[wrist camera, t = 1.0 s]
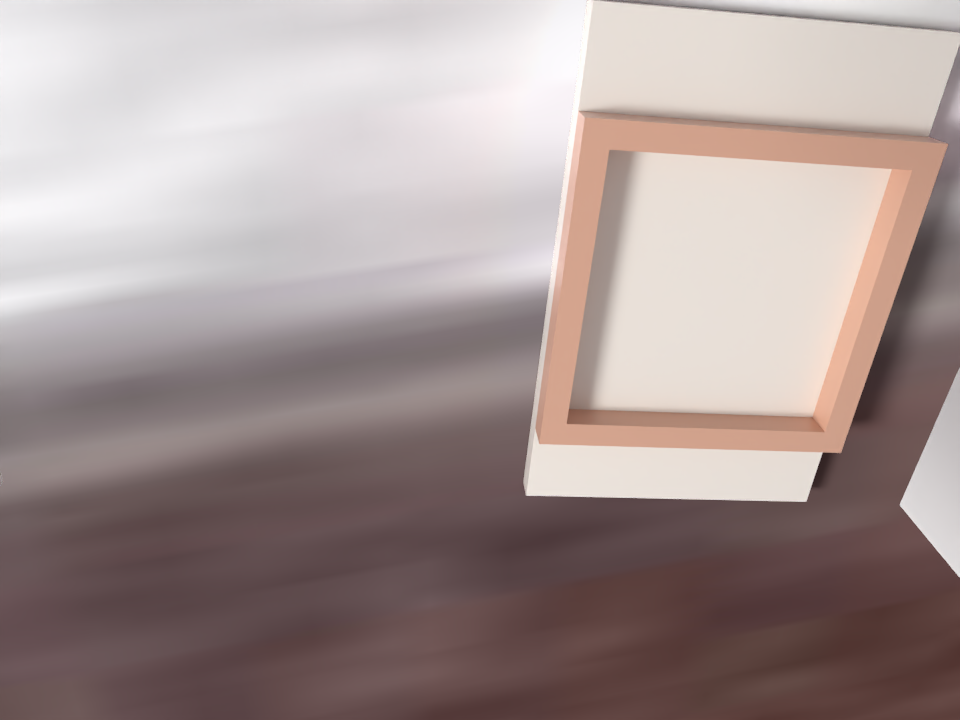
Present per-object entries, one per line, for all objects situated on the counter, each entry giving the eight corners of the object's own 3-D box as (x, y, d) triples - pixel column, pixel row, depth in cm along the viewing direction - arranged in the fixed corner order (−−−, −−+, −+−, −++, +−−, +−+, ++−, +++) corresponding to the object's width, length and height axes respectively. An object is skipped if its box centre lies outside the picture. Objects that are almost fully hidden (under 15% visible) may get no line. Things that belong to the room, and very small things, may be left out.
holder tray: (587, -2, 27) (600, 2, 25) (946, 30, 28) (985, 37, 26) (523, 481, 36) (529, 512, 34) (796, 488, 37) (817, 518, 35)
